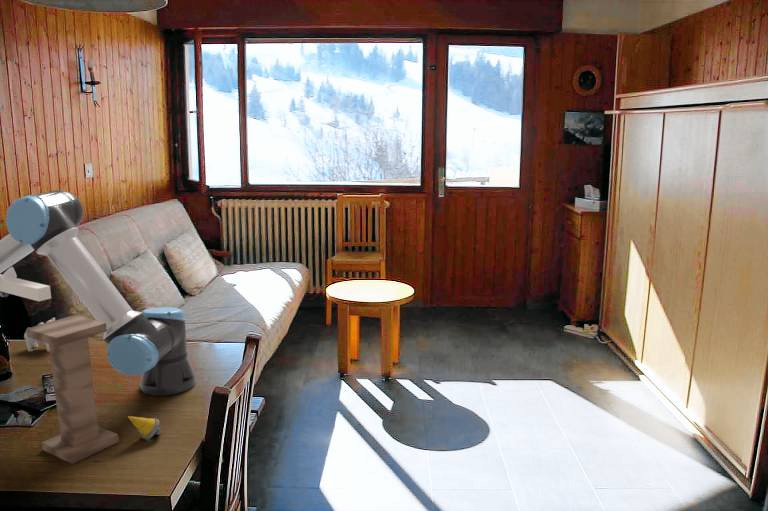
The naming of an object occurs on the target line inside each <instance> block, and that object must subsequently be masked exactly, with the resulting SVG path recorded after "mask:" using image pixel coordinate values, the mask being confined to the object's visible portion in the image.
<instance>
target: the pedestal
mask: <svg viewBox="0 0 768 511" xmlns="http://www.w3.org/2000/svg"><path fill="white" fill-rule="evenodd" d="M26 330H27V337H29V338H32V339H35V340H38V341H37V342H39V341H41V342H40V343H43V342H44V343H48V344H49V350H50V351H49V356H50V364H51V366H50V367H51V371H52V381H53V387H54V388H53V389H54V396H55V403H56V411H57V419H58V426H59V427H58V428H59V434H57V435H55V436H53V437H50V438H49V439H46V440H43V441H42V442H41V447H42V451H44V452H46V453H49V454H51V455H52V456H54V457H56V458H59V459H61V460H63V461H65V462H67V463H70V464H72V465H74V464H75V463H77V462H79V461H82V460H84V459H86V458H88V457H90V456H93V455H94V454H96V453H98V452H100V451H103V450H105V449H106V448H109V447H111V446H114V445H116V444H117V443H119V442H120V440H119V434H118V433H115V432H113V431H111V430H108V429H107V428H103V427H102V426H99V424H98V422H99V421H98V412H97V407H96V406H97V405H96V397H95V395H96V394H95V389H94V388H95V386H94V380H93V372H92V369H93V368H92V363H91V355H90V354H91V353H90V344H89V343H90V342H89V338H90V337H93V336H96V335H99V334H104V332H106V331H107V328H106V323H104V322H100V321H97V320H96V319H92V318H88V317H85V316H82V315H77V314H75V315H70V316H67V317H63V318H59V319H55V321H52V322H48V323H46V322H45V323H44V324H41V325H38V324H37V325H35V326H31V327H27V328H26ZM26 330H25V331H26ZM44 343H43V344H44Z"/></svg>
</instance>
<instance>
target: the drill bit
mask: <svg viewBox="0 0 768 511" xmlns="http://www.w3.org/2000/svg"><path fill="white" fill-rule="evenodd" d="M127 418H128V419H129V421H131V423H132V424H133V426H134V427H135V428H136V429H137V431H138V432H139V433H140V436H141V438H142V439H144V440H146V441H147V440H150V439H151V438H152V437H154V435H155V436H156V435H157V436H159V435H162V434H161V432H162V429H161V428H159V426H160V420H159V419H158V418H156V417H151V418H147V417H140V416H139V417H138V416H131V415H129V416H127Z"/></svg>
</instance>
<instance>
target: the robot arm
mask: <svg viewBox="0 0 768 511" xmlns="http://www.w3.org/2000/svg"><path fill="white" fill-rule="evenodd" d="M84 212H85V211H84V206H83V204H82V202H81V200H80V199H79V198H78V197H77V196H76V195H74V193H72V192H70V191H67V190H61V189H60V190H59V189H55V190H50V191H47V192H41V193H36V194H28V195H27V194H26V195H25V196H23V197H19V198H17V199H15V200H14V201H12V203H11V204H10V205H9V207H8V208H7V210H6V218H5V224H6V229H7V231H8V233H9V234H6V235H5V236H4V237H2V238H1V239H0V274H2V275H6V276H10V277H14V278H17V277H18V275H17V273H16V270H15V268H14V266H13V265H15V264H16V263H19V261H21V260H22V259H24V258H25V257H27V256H28V255H29V254H31V253H33V252H34V251H35V253H36V254H37V255H40V256H45V257H47V258H48V260H50V262H51V263H52V264H53V266H54V267H55V269H56V270H57V271H58V272H59V273H60V275H61V276H62V277H63V278H64V280H65V281H66V283H67V284H68V285H69V286H70V288H71V289H72V291H73V292H74V293H75V294H76V295H77V297H78V298H79V300H80V301H81V302H82V303H83V305H84V306H85V308H86V309H88V311H89V312H90V314H91V315H92V316H93V317H94V320H97V321H100V322H104V323H106V328H107V331H106V332H103V336H102V337H103V338H102V340H103V341H104V342H105V344H106V345H107V348H106V353H107V354H106V357H107V360H108V363H109V364H110V365H111V367H113V369H114V370H116V371H118V372H119V373H121V374H122V375H127V376H139V375H141V379H140V390H141V392H142V393H144V394H145V395H147V396H148V395H149V396H154V397H155V396H156V397H158V396H159V397H163V396H166V397H167V396H172V395H177V394H180V393H185V392H186V391H189V390H190V389H192V388H194V386H195V385H196V382H197V380H196V373H195V371H194V368H193V367H192V364H191V361H190V360H189V356H188V346H187V334H186V331H187V330H186V319H185V314H184V311H183V309H181V308H178V307H174V306H173V307H172V306H171V307H170V306H169V307H168V306H162V307H161V306H160V307H152V308H151V307H150V308H146V309H143V310H141V311H138V310H133V309H132V307H131V306H130V305H129V302H127V301H126V299H125V298H124V297H123V296H122V294H121V293H120V292H119V290H118V289H117V287H116V286H115V285H114V284H113V282H112V281H111V280H110V278H109V276H107V275H106V273H105V272H104V270H103V269H102V268H101V266H100V265H99V264H98V263H97V261H96V259H94V258H93V256H92V255H91V254H90V252H89V251H88V250H87V248H86V247H85V246H84V244H83V243H82V241H81V240H80V239H79V238H78V234H79V226H80V224H81V223H82V221H83V219H84V215H85V214H84ZM1 280H2V279H1V276H0V281H1ZM9 295H10V294H9V293H5V292H2V291H0V297H1V298H2V297H3V298H7V297H9Z"/></svg>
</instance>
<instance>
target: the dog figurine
mask: <svg viewBox="0 0 768 511" xmlns="http://www.w3.org/2000/svg"><path fill="white" fill-rule="evenodd" d="M55 320H56V317H52V318H51V319H49V320H47V321H46V322H45V323H48V322H52V321H55ZM45 323H44V322H39V323H38V324H37V325H41V324H45ZM23 338H24V340H25V344H26V349H27V352H33V351H34V350H33V348H39V345H38V342H40V343H42V344H44V345H45V348H46V352H49V353H50V350H49V344H48V343H44V342H41V341H38V340H35V339H32V338H29V337H27V330H25V332H24V335H23ZM32 346H33V348H32Z"/></svg>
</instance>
